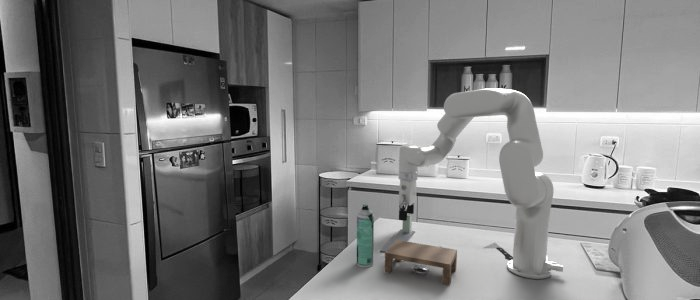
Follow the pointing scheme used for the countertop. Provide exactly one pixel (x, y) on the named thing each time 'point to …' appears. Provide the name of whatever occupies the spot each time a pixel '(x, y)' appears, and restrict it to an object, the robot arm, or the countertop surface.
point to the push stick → (401, 233)
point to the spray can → (365, 237)
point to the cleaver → (500, 250)
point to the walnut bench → (422, 257)
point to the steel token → (420, 269)
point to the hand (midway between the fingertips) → (406, 216)
